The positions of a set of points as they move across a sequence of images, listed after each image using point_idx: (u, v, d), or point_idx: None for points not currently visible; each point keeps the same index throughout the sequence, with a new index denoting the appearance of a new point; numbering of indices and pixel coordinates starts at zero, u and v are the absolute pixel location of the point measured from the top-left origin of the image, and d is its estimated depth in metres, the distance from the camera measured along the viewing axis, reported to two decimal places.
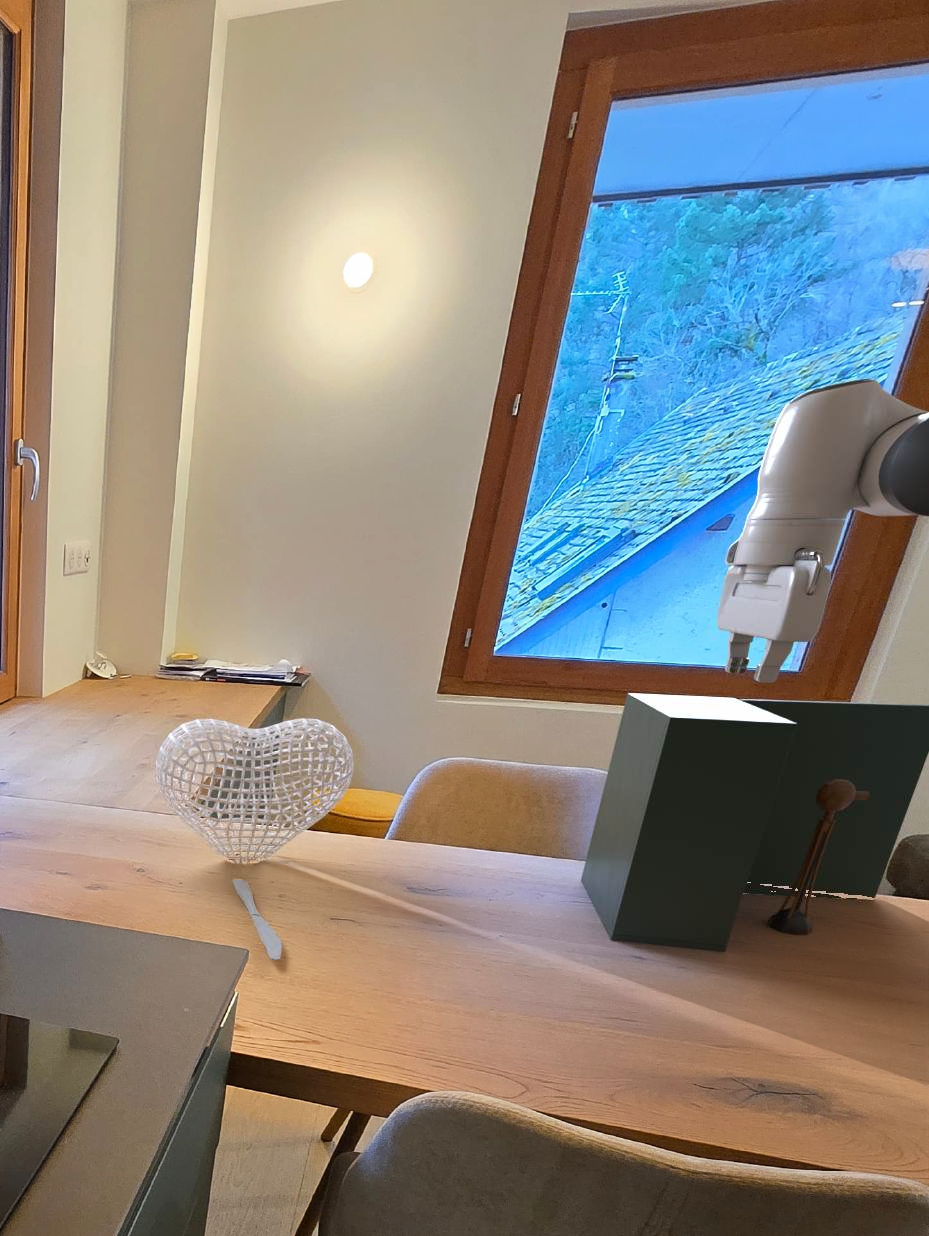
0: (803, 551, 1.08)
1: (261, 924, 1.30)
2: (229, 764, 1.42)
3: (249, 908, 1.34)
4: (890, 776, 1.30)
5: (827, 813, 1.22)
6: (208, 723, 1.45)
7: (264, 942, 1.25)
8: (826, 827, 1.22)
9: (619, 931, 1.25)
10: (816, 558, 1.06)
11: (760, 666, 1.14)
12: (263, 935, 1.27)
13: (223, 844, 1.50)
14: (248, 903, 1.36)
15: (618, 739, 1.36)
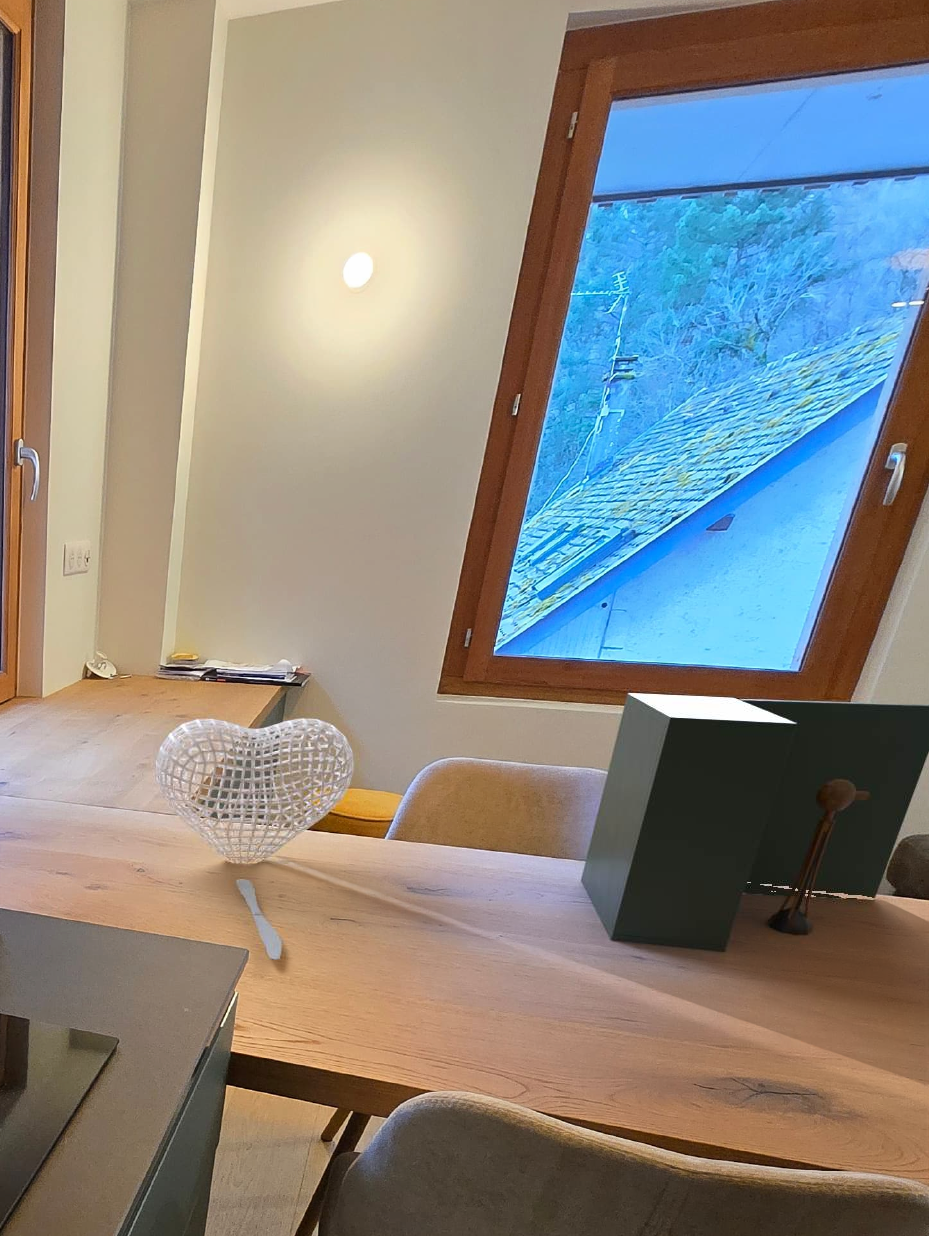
0: None
1: (262, 924, 1.30)
2: (229, 764, 1.42)
3: (251, 908, 1.34)
4: (890, 776, 1.30)
5: (827, 813, 1.22)
6: (208, 723, 1.45)
7: (264, 942, 1.25)
8: (826, 827, 1.22)
9: (619, 931, 1.25)
10: None
11: None
12: (263, 935, 1.27)
13: (223, 844, 1.50)
14: (251, 903, 1.36)
15: (618, 739, 1.36)
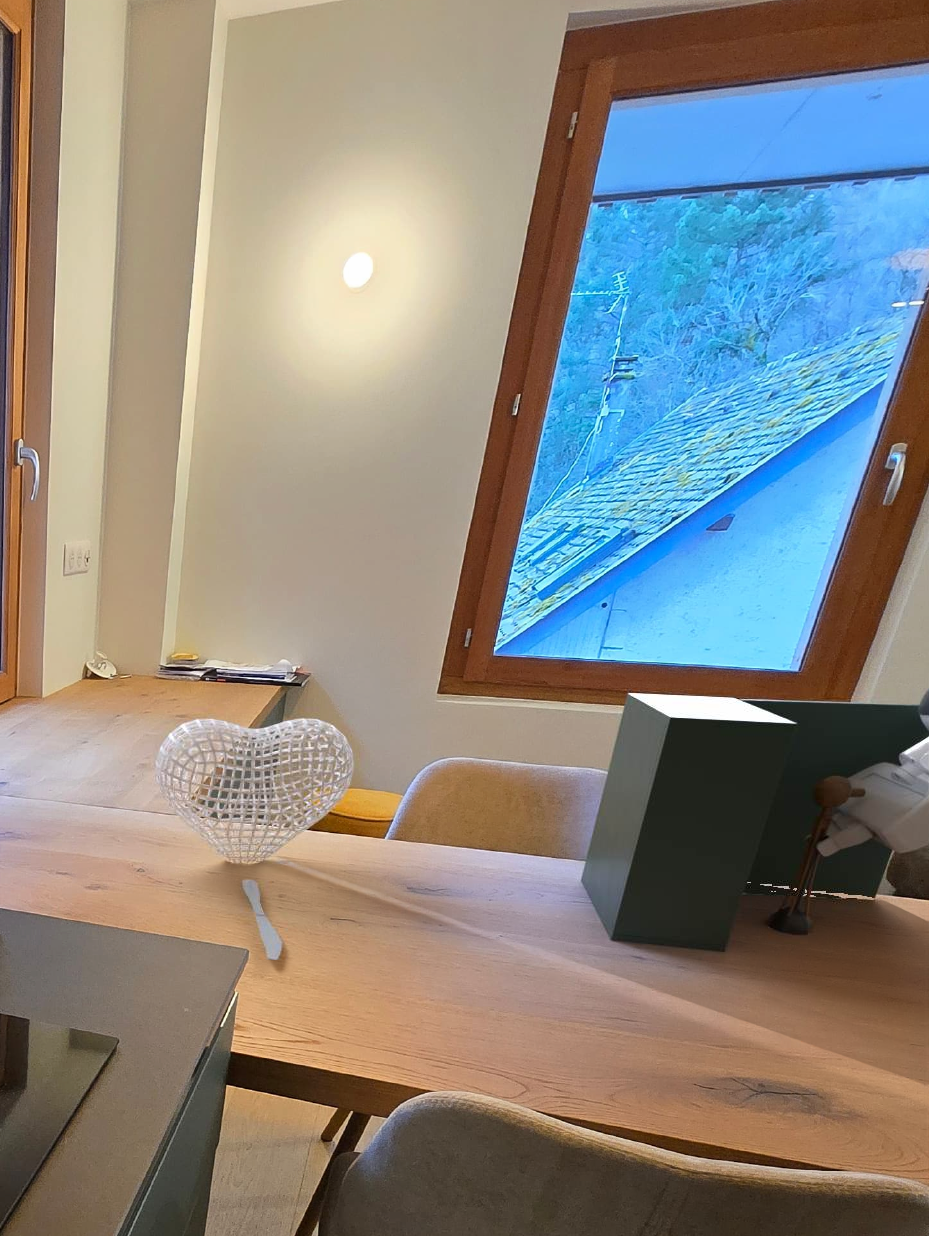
0: None
1: (264, 925, 1.30)
2: (229, 764, 1.42)
3: (254, 908, 1.34)
4: None
5: (824, 810, 1.22)
6: (208, 723, 1.45)
7: (264, 942, 1.25)
8: (823, 824, 1.23)
9: (619, 931, 1.25)
10: (899, 766, 1.26)
11: None
12: (264, 935, 1.27)
13: (223, 844, 1.50)
14: (254, 904, 1.36)
15: (618, 739, 1.36)
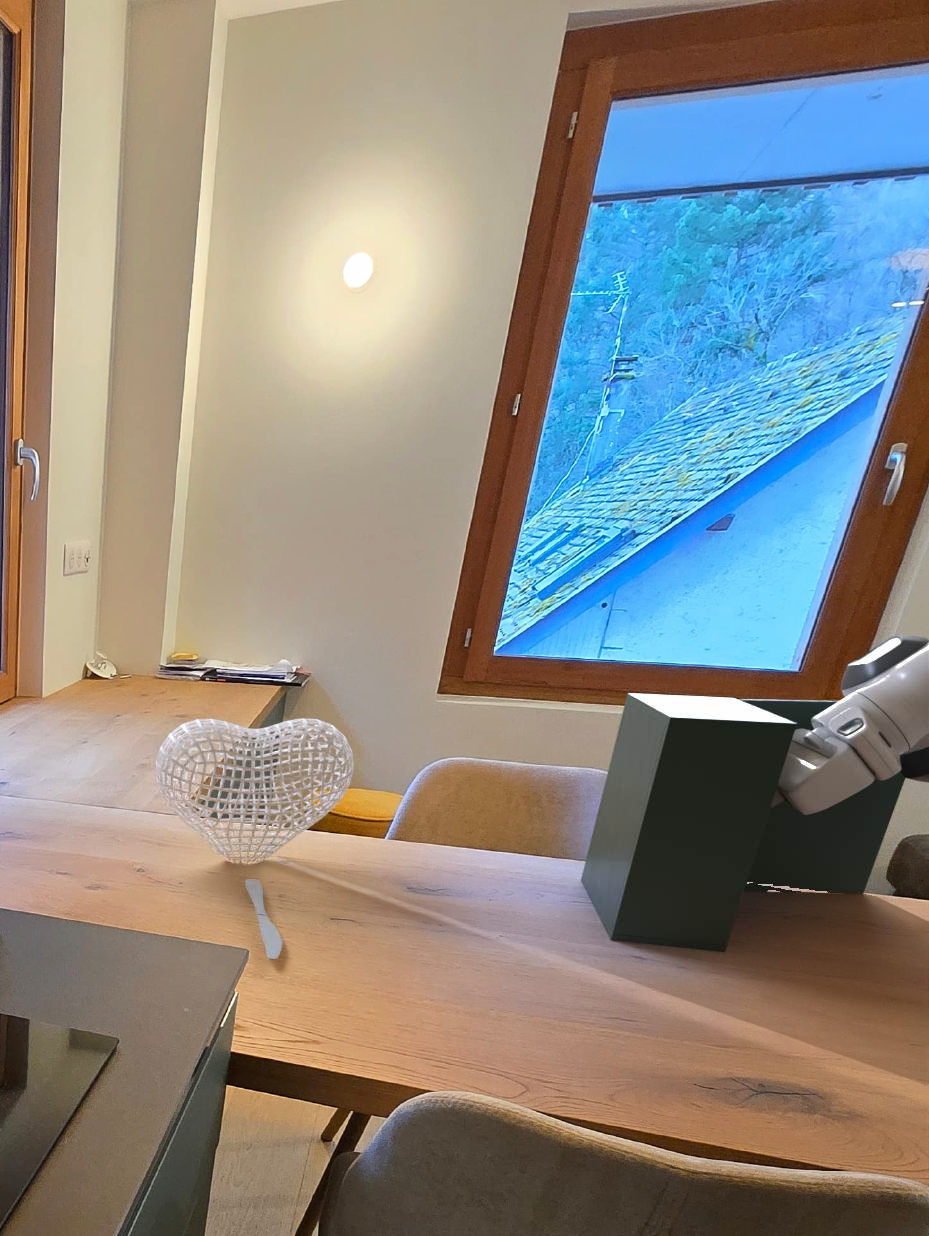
0: None
1: (265, 924, 1.30)
2: (229, 764, 1.42)
3: (256, 908, 1.34)
4: None
5: None
6: (208, 723, 1.45)
7: (264, 942, 1.25)
8: None
9: (619, 931, 1.25)
10: None
11: None
12: (265, 935, 1.27)
13: (223, 844, 1.50)
14: (257, 903, 1.35)
15: (618, 739, 1.36)
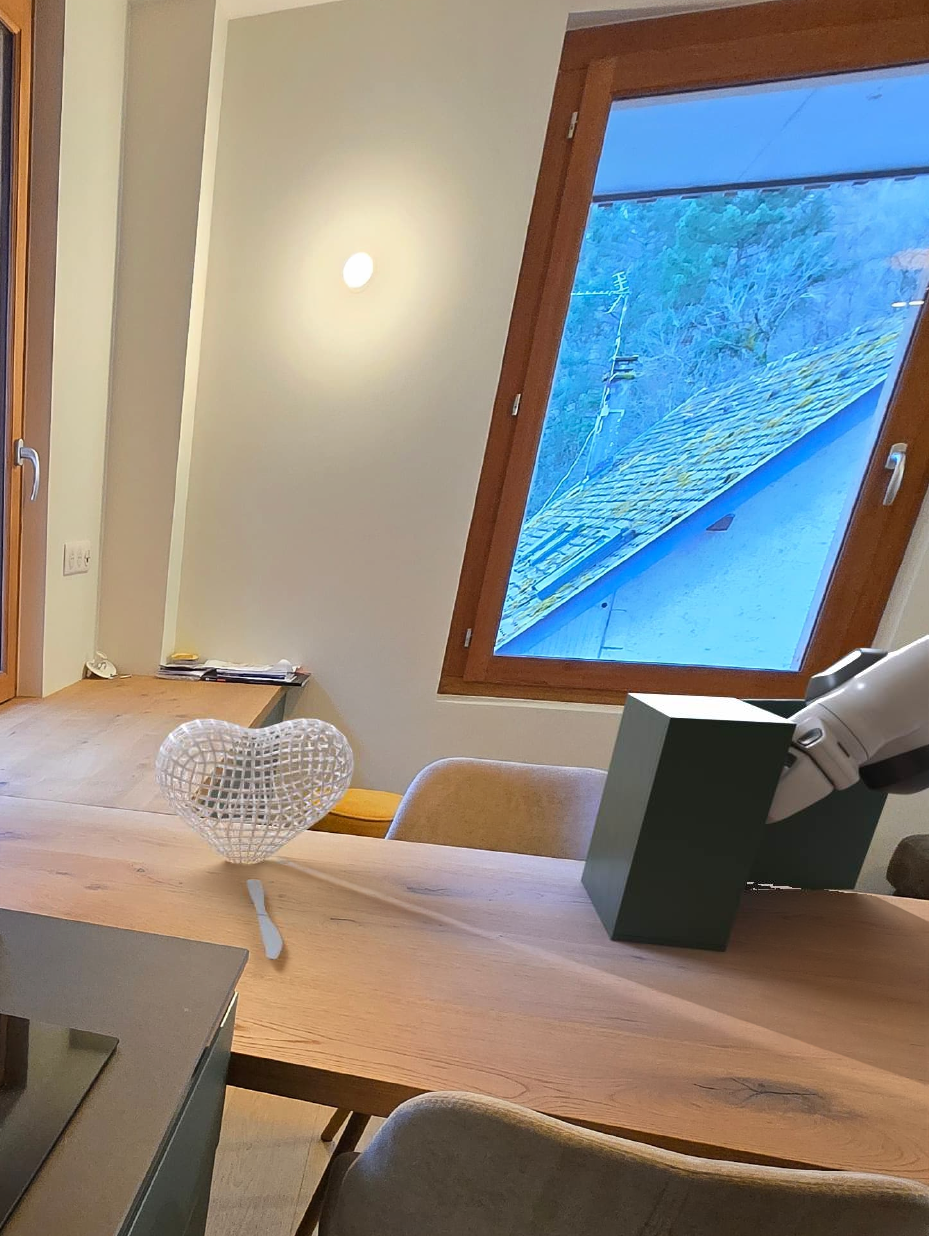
0: None
1: (266, 924, 1.30)
2: (229, 764, 1.42)
3: (257, 908, 1.34)
4: None
5: None
6: (208, 723, 1.45)
7: (265, 942, 1.25)
8: None
9: (619, 931, 1.25)
10: None
11: None
12: (265, 935, 1.27)
13: (223, 844, 1.50)
14: (257, 903, 1.35)
15: (618, 739, 1.36)
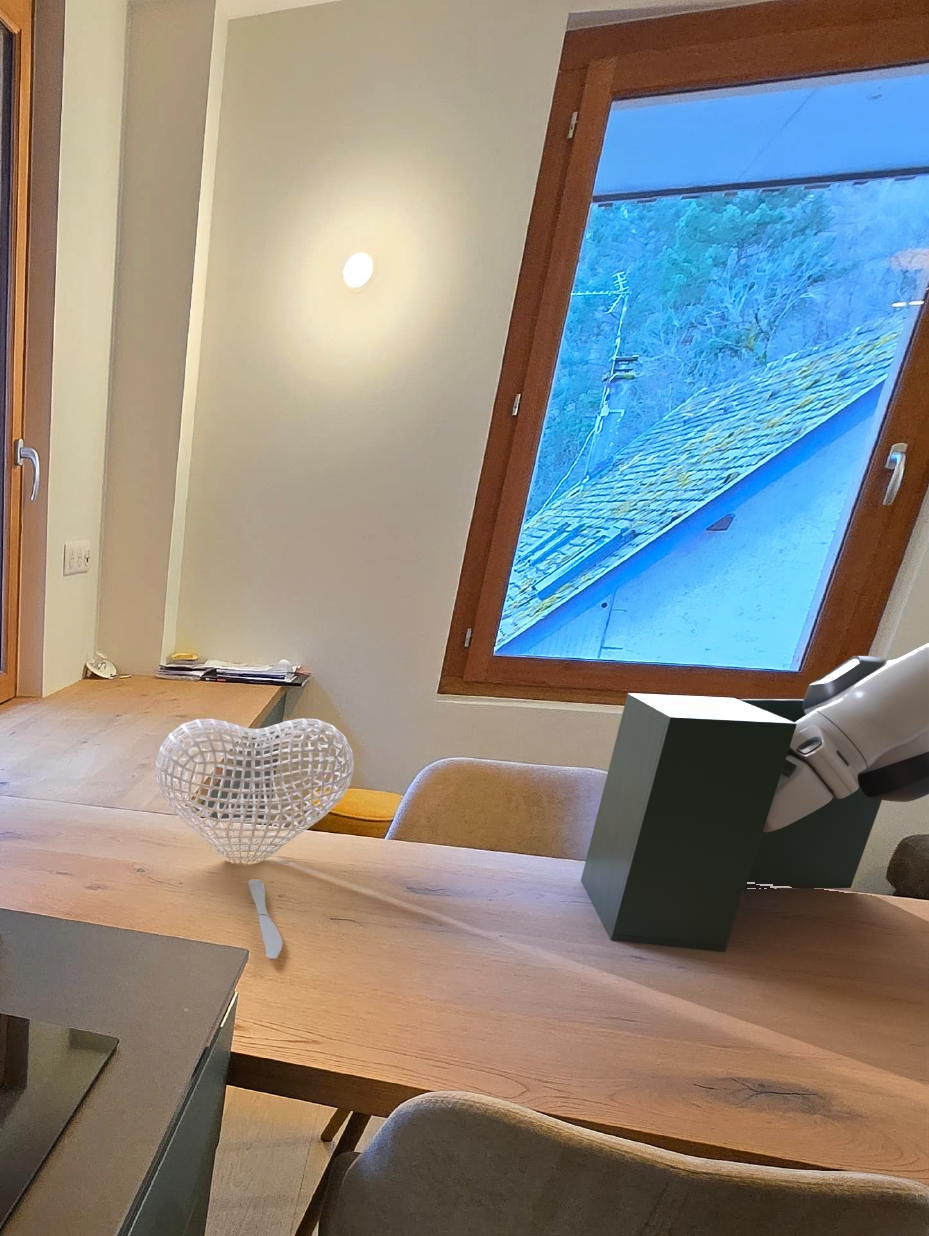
0: None
1: (266, 924, 1.30)
2: (229, 764, 1.42)
3: (258, 908, 1.34)
4: None
5: None
6: (208, 723, 1.45)
7: (265, 941, 1.25)
8: None
9: (619, 931, 1.25)
10: None
11: None
12: (265, 935, 1.27)
13: (223, 844, 1.50)
14: (258, 903, 1.35)
15: (618, 739, 1.36)
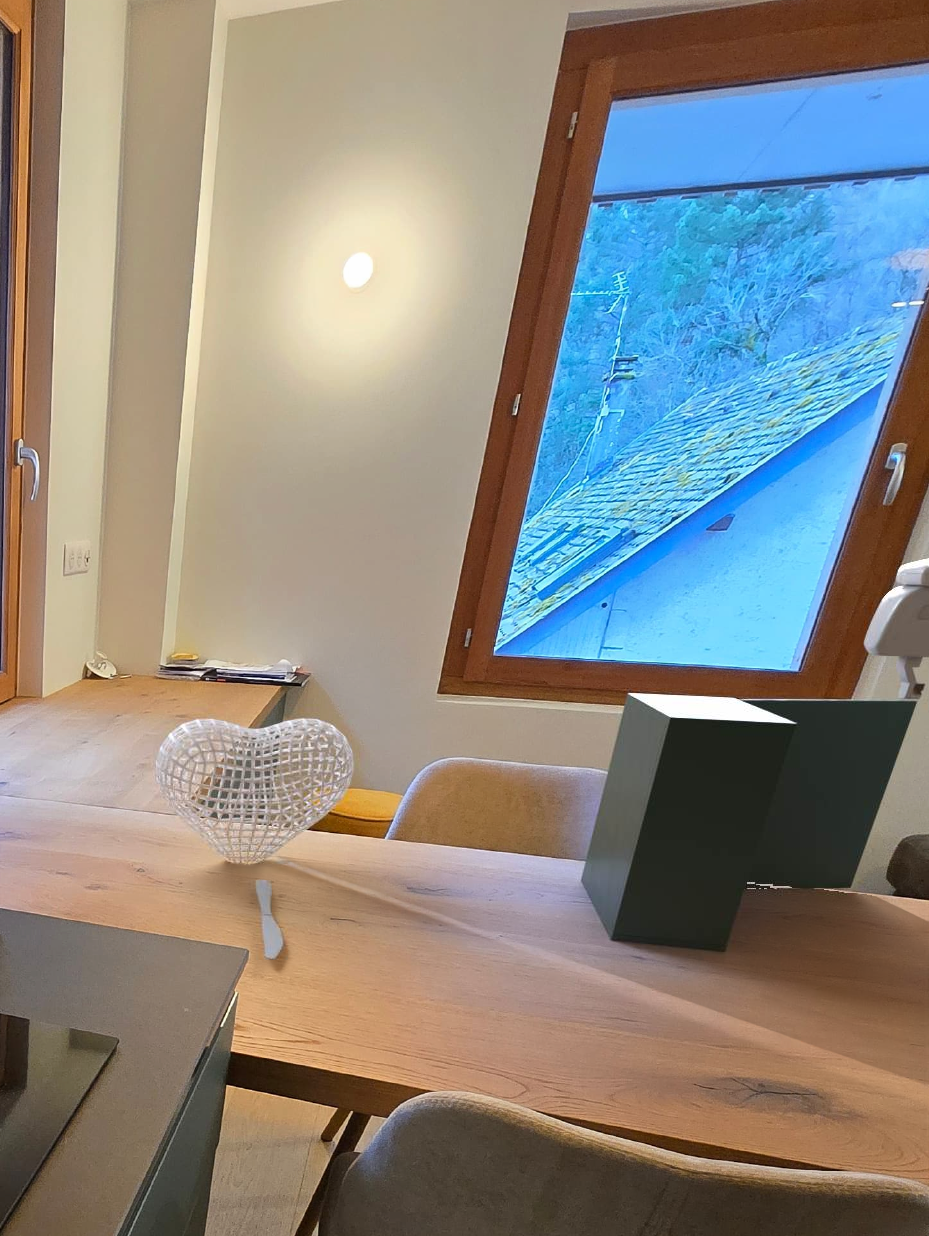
0: None
1: (268, 924, 1.30)
2: (229, 764, 1.42)
3: (262, 908, 1.34)
4: (868, 770, 1.34)
5: None
6: (208, 723, 1.45)
7: (265, 941, 1.25)
8: None
9: (619, 931, 1.25)
10: None
11: None
12: (266, 935, 1.27)
13: (223, 844, 1.50)
14: (263, 903, 1.35)
15: (618, 739, 1.36)
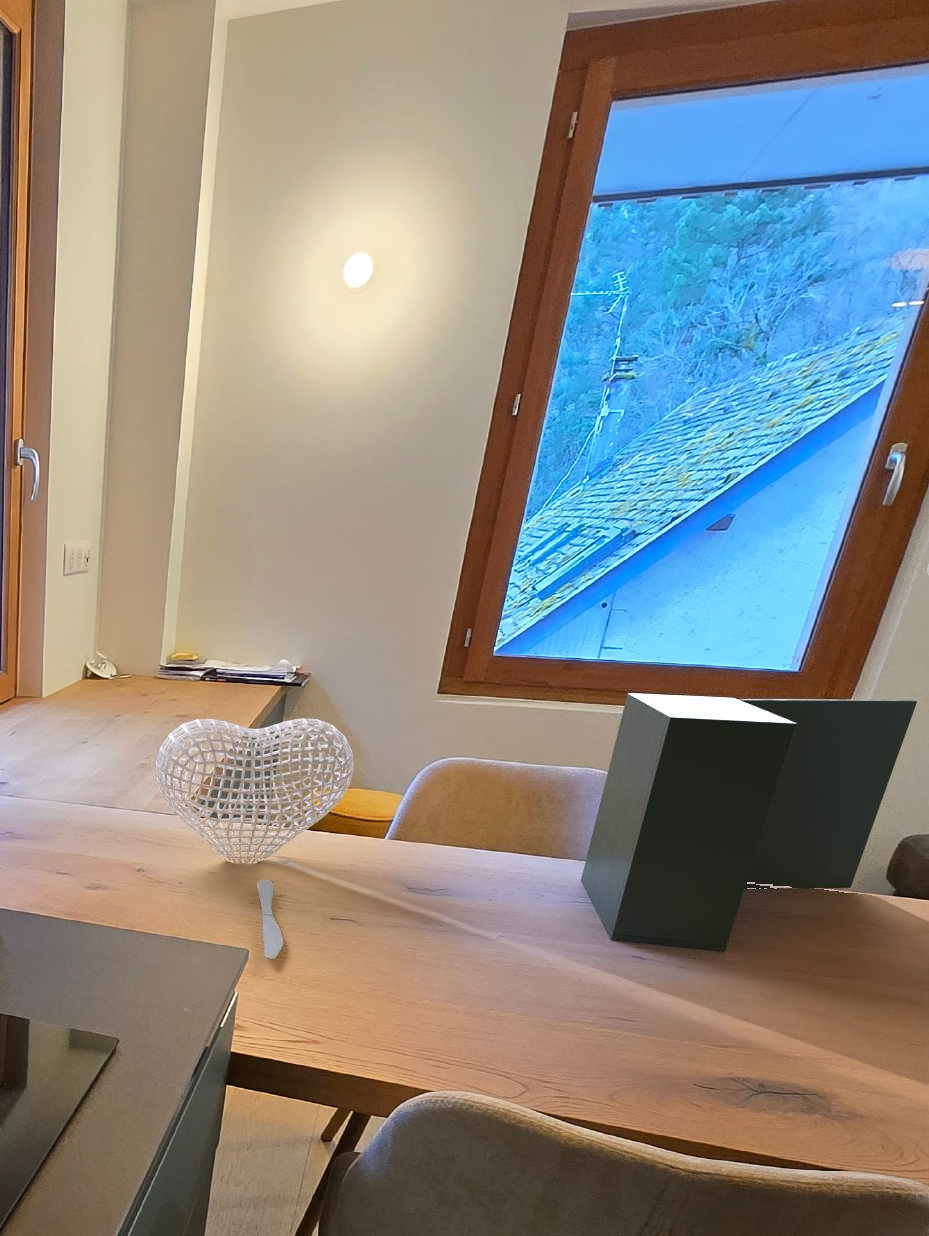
0: None
1: (269, 924, 1.30)
2: (229, 764, 1.42)
3: (263, 908, 1.34)
4: (868, 770, 1.34)
5: None
6: (208, 723, 1.45)
7: (265, 941, 1.25)
8: None
9: (619, 931, 1.25)
10: None
11: None
12: (267, 935, 1.27)
13: (223, 844, 1.50)
14: (264, 904, 1.35)
15: (618, 739, 1.36)
